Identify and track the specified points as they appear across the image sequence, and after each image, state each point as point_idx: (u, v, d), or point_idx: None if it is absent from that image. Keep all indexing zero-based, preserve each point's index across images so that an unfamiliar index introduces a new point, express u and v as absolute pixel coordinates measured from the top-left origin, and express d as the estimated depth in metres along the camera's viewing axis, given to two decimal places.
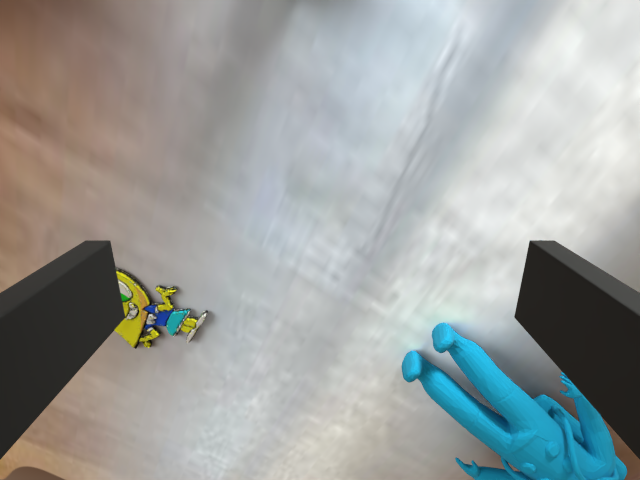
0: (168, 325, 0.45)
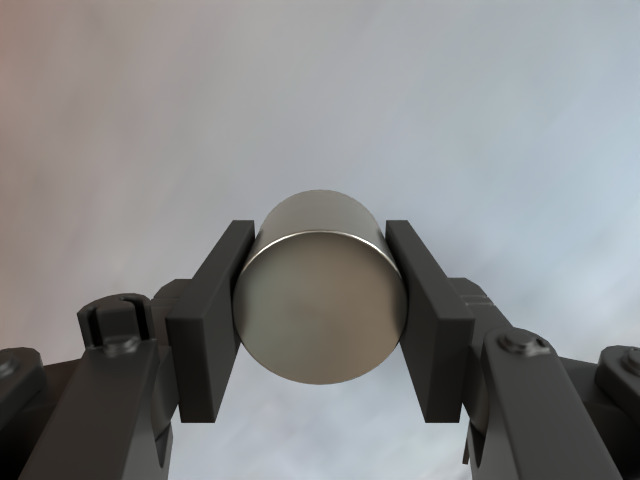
0: None
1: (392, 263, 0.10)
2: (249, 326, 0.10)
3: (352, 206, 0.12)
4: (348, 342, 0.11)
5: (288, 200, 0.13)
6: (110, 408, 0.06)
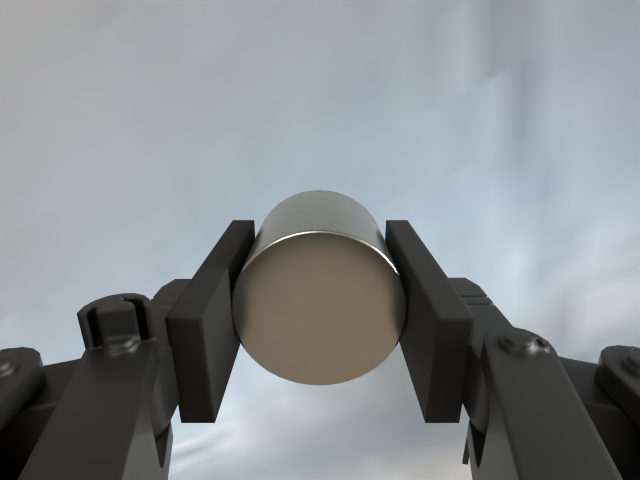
0: None
1: (391, 264, 0.10)
2: (249, 327, 0.10)
3: (351, 207, 0.12)
4: (348, 343, 0.11)
5: (287, 200, 0.13)
6: (110, 408, 0.06)
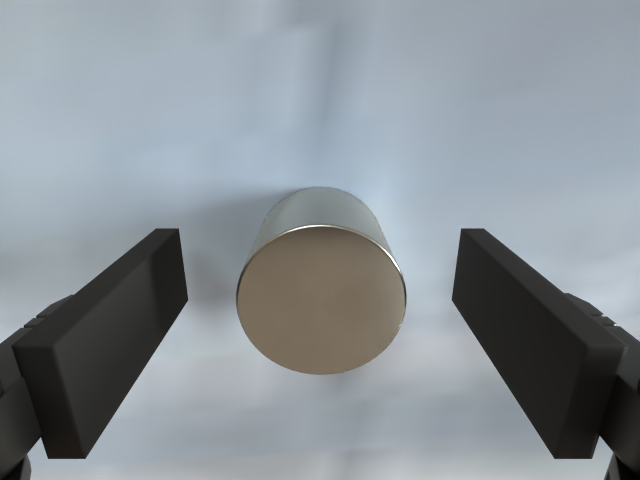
0: None
1: (391, 256, 0.10)
2: (253, 317, 0.11)
3: (352, 203, 0.13)
4: (349, 333, 0.11)
5: (290, 197, 0.14)
6: None
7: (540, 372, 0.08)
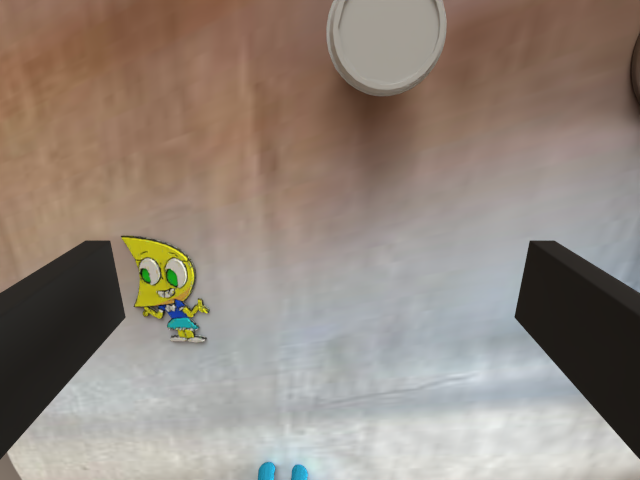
0: (175, 321, 0.52)
1: None
2: None
3: None
4: None
5: None
6: None
7: None
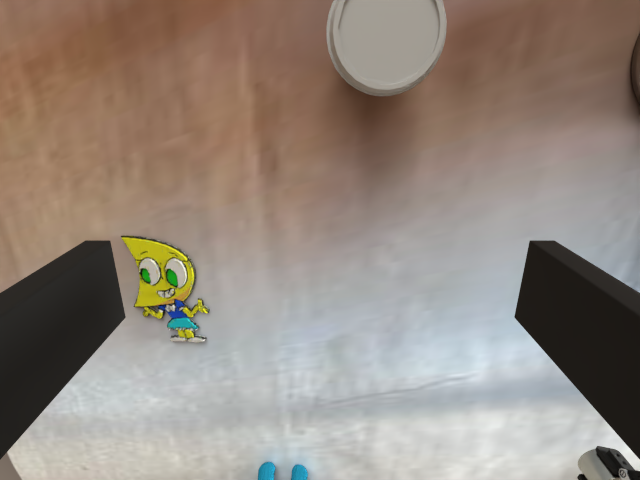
0: (175, 321, 0.52)
1: None
2: None
3: None
4: None
5: (584, 458, 0.55)
6: None
7: None
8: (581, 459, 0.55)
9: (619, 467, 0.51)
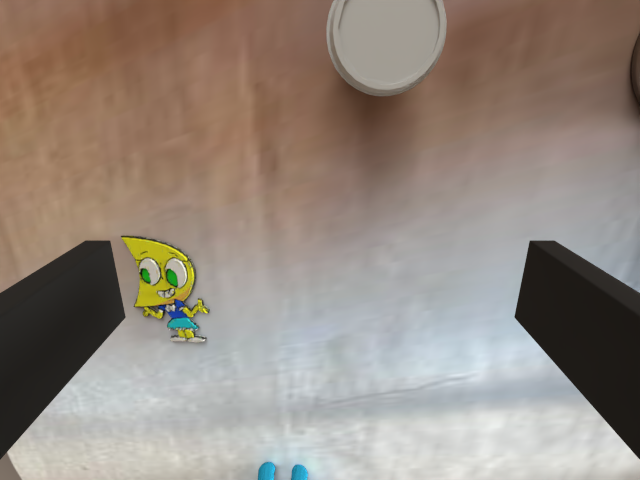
0: (175, 321, 0.52)
1: None
2: None
3: None
4: None
5: None
6: None
7: None
8: None
9: None
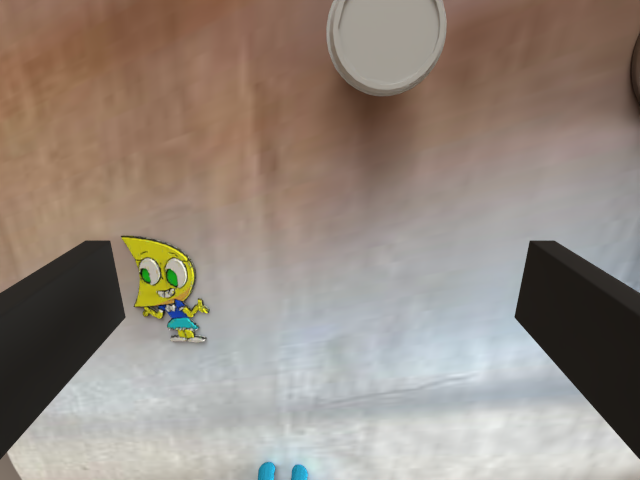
0: (175, 321, 0.52)
1: None
2: None
3: None
4: None
5: None
6: None
7: None
8: None
9: None
